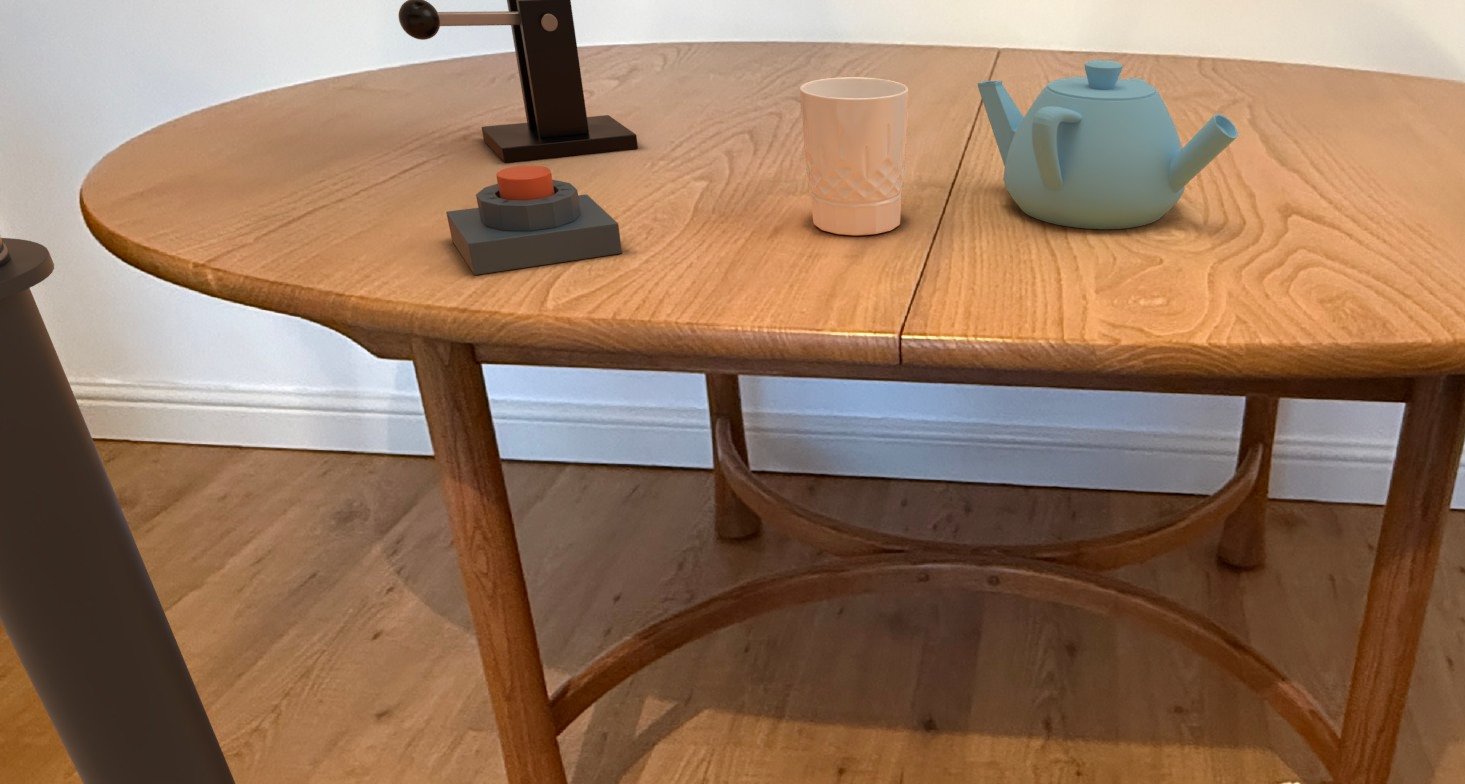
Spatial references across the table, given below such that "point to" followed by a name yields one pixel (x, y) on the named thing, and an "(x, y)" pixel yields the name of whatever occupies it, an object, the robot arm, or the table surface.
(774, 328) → the table surface
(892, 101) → the peach cup
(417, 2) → the tap lever
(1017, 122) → the teapot
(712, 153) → the table surface
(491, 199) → the button block
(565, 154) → the bracket
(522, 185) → the button
